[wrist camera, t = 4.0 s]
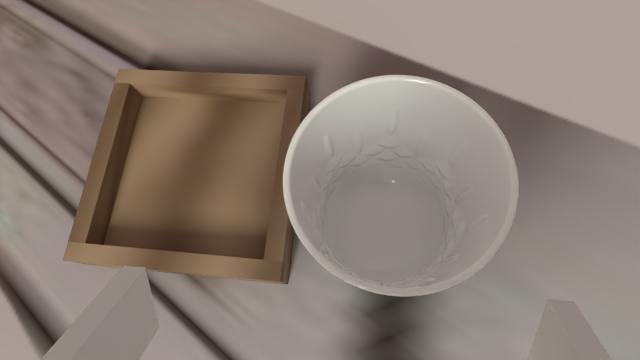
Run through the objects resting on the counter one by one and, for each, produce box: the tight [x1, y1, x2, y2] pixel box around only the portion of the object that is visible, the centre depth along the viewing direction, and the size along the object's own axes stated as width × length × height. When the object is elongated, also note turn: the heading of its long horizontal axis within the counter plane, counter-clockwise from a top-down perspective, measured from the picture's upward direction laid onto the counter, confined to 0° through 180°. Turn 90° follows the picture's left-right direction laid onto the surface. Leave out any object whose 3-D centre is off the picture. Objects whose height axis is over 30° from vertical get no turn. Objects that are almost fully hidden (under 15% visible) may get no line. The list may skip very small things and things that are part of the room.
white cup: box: [283, 75, 519, 296], centre depth 18 cm, size 8×8×10 cm
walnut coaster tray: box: [63, 69, 310, 284], centre depth 24 cm, size 12×12×2 cm
